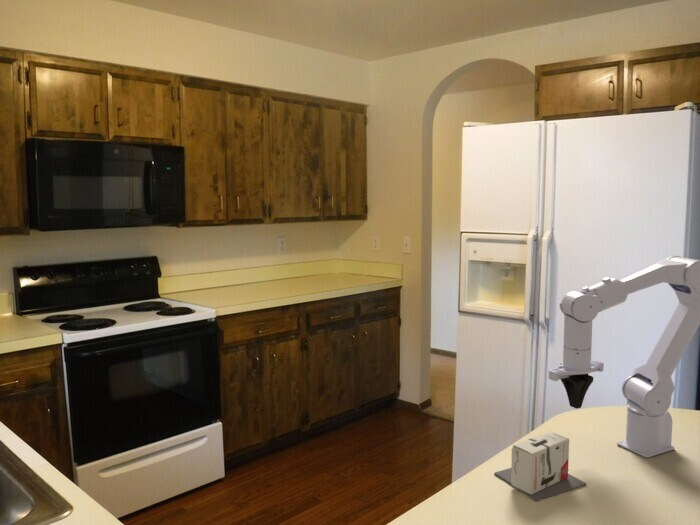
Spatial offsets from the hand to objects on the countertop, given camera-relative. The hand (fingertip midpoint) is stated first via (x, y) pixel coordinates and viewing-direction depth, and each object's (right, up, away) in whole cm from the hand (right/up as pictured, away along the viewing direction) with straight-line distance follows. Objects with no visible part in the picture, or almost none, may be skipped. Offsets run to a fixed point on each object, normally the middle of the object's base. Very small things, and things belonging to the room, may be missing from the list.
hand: (575, 406), depth 130 cm
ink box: (-7, -7, -10) cm, 14 cm away
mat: (-12, -12, -11) cm, 20 cm away
